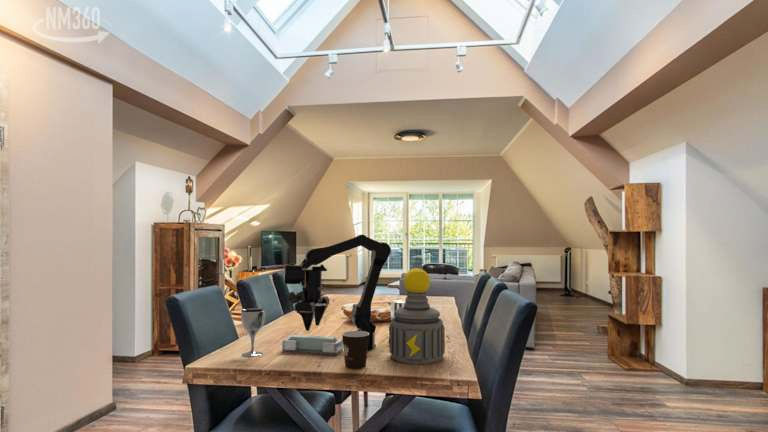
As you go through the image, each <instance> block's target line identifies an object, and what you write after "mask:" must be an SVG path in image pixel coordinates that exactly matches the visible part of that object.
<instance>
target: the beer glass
mask: <svg viewBox="0 0 768 432" xmlns="http://www.w3.org/2000/svg"><path fill="white" fill-rule="evenodd" d="M405 303H406V301H405V300H401V299H400V300H398V299H397V300H391V302H390V320H391V319H392V318H394V317H396V316H394V311H395V310H397V309H399V308H401V307H404V304H405Z"/></svg>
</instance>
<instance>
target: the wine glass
mask: <svg viewBox="0 0 768 432" xmlns="http://www.w3.org/2000/svg"><path fill="white" fill-rule="evenodd" d="M265 317H266V309H265V308H259V307H258V308H257V307H255V308H254V307H253V308H252V307H251V308H246V309H244V308H243V309H242V310H241V311H240V321H241V324H242V327H243V329H244V330H245V332H247V333H246V334H248V336H249V338H250V344H251V345H250V346H251V347H250V350H249V351H245V352H242V353H241V357H244V358H245V357H246V358H254V356H255V357H259V355H260V356H261V355H263V354H264V353H263V351H260V350H259V351H258V350H255V349H254V346H255V337H256V335H257V334H258V333H259V332H260V330H261V329H262V328H263V325H264V323H265V319H266V318H265Z"/></svg>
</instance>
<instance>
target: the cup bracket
mask: <svg viewBox="0 0 768 432" xmlns="http://www.w3.org/2000/svg"><path fill="white" fill-rule="evenodd" d="M281 347H282V349H281V352H282V353H288V354H289V353H292V354H304V355H321V356H322V355H323V356H334V357H335V356H338V355H339V354H340V353H341V352H342V351H343V352H344V348H343V338H336V341H335V343H327V342H324V343H323V350H311V349H297V341H293V340H290V336H288V337H286V338H285V339H283V340H282V345H281Z"/></svg>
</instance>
